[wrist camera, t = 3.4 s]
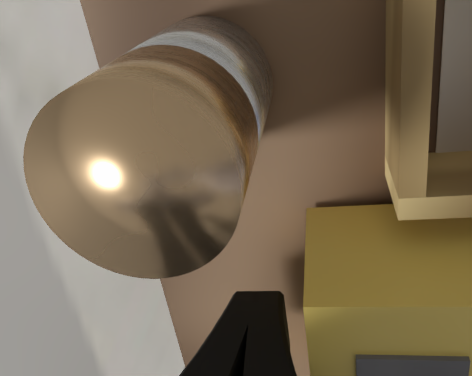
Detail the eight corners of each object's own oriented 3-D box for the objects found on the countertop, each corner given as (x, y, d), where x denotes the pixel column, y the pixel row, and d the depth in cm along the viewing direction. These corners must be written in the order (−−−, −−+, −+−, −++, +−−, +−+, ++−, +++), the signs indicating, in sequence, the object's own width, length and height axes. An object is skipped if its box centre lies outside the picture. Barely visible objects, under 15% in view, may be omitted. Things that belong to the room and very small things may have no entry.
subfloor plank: (918, -186, 8) (1268, -256, 5) (679, 361, 14) (773, 471, 11) (93, -41, 11) (14, -32, 8) (197, 352, 17) (173, 436, 14)
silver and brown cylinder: (204, -16, 9) (109, 23, 5) (300, 89, 10) (289, 204, 6) (119, 79, 11) (-16, 178, 6) (209, 167, 11) (145, 308, 7)
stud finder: (528, 197, 10) (620, 311, 7) (499, 367, 13) (557, 505, 10) (306, 208, 11) (303, 311, 8) (320, 363, 14) (321, 487, 11)
